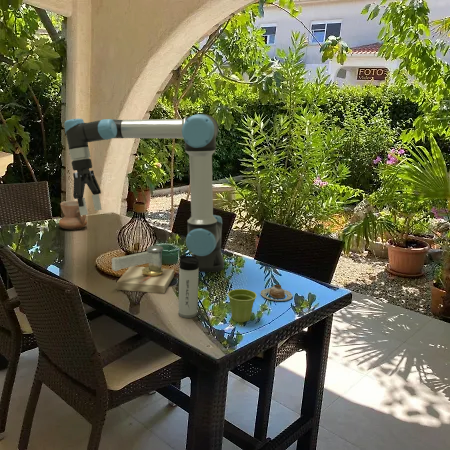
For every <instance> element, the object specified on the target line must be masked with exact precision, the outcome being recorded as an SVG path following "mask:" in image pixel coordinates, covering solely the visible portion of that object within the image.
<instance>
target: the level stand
mask: <svg viewBox="0 0 450 450" xmlns="http://www.w3.org/2000/svg"><path fill="white" fill-rule="evenodd" d="M145 267H146V266H145ZM145 267H144V266H133V267H128V268H127V270H126V271H125V272H124V273H123V274H122V275H121V276H120V278H119V279H118V280H117V281H116V290H117V291H128V292H129V291H130V292H139V293H151V294H152V293H153V294H165V292H167V291H166V290H168V288H169V286H170V285H171V282H172V280H173V278H174V277H175V269H174V268H173V269H172V268H162V269H163V273H162V274H161V275H157V276H147V275H144V274H143V273H142V269H143V268H145Z"/></svg>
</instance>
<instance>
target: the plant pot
mask: <svg viewBox="0 0 450 450" xmlns="http://www.w3.org/2000/svg"><path fill="white" fill-rule="evenodd" d="M227 297H228V299H229V303H230V304H229V305H230V313H231V319H232V320H233V321H234V322H237V323H245V322H249V321H250V320H251V316H252V310H253V307H254V303H255V301H256V299H257V297H258V295H257V293H256V292H255V291H253V290H250V289H246V288H238V289H237V288H235V289H232V290H229V292H228V293H227Z"/></svg>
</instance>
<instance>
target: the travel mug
mask: <svg viewBox="0 0 450 450" xmlns="http://www.w3.org/2000/svg"><path fill="white" fill-rule="evenodd" d="M198 265H199V260H198V259H197V258H196V257H193V256H192V255H186V254H182V255H180V256H179V271H178V272H179V274H178V276H179V278H178V311H177V312H178V313H177V314H178V316H179V317H180V318H183V319H193V318H195V317H196V316H197V315H198V301H199V300H198V298H199V294H198V293H199V273H200V272H199V270H198V269H199V266H198Z"/></svg>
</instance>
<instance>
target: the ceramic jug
mask: <svg viewBox="0 0 450 450" xmlns="http://www.w3.org/2000/svg"><path fill="white" fill-rule="evenodd" d="M59 205H60V209H61V211H62V213H63V217H62V218H61V219H60V220H59V221H58V224H59V227H61V229H65V230H75V231H76V230H80V229H82V228H85V227H86V226H87V225H88V221H87V215H80V210H79V205H78V201H77V200H66V201H65V200H64V201H62V202H60V204H59Z"/></svg>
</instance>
